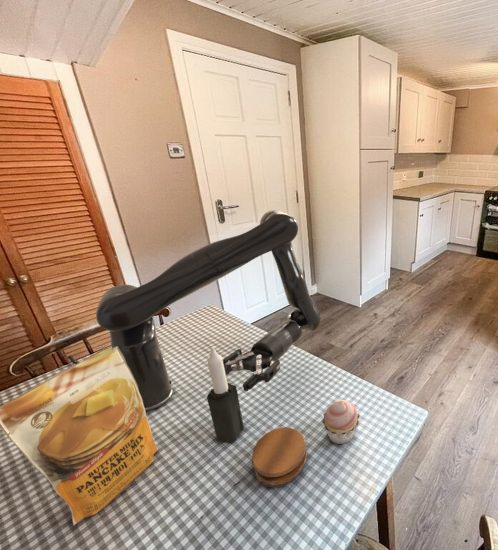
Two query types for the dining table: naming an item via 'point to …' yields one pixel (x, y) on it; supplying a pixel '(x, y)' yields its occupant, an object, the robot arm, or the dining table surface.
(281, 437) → the coaster pile
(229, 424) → the candle
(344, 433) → the cupcake
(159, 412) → the dining table surface
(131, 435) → the pancake mix bag
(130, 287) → the robot arm
